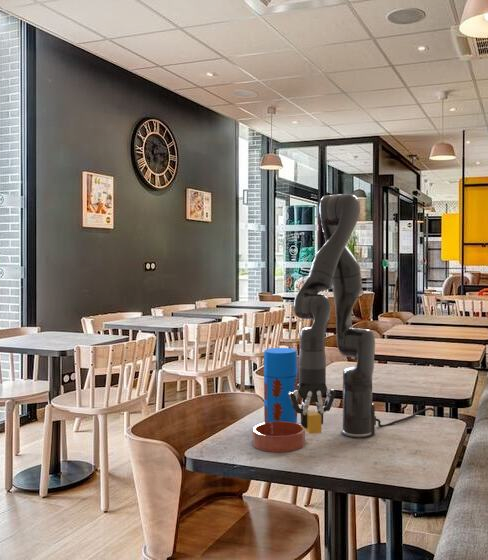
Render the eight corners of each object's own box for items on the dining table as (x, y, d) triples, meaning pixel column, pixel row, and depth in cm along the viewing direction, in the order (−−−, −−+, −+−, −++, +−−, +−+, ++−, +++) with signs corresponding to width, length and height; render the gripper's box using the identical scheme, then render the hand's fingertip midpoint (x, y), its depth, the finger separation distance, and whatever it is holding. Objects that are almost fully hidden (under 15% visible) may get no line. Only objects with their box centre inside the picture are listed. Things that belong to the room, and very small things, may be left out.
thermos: (293, 431, 192) (292, 353, 190) (260, 429, 194) (260, 352, 192) (300, 422, 202) (299, 348, 201) (269, 420, 204) (268, 347, 203)
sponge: (314, 426, 171) (314, 409, 171) (321, 432, 166) (321, 414, 165) (302, 427, 170) (302, 410, 170) (309, 433, 165) (309, 415, 164)
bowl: (296, 433, 190) (296, 419, 190) (311, 449, 175) (311, 433, 175) (248, 438, 186) (248, 423, 185) (259, 454, 171) (259, 438, 171)
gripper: (291, 369, 162) (291, 432, 162) (340, 366, 166) (340, 428, 166) (284, 364, 169) (284, 425, 170) (331, 361, 173) (331, 421, 174)
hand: (312, 426), depth 168 cm, fingers closed on sponge, 3 cm apart
